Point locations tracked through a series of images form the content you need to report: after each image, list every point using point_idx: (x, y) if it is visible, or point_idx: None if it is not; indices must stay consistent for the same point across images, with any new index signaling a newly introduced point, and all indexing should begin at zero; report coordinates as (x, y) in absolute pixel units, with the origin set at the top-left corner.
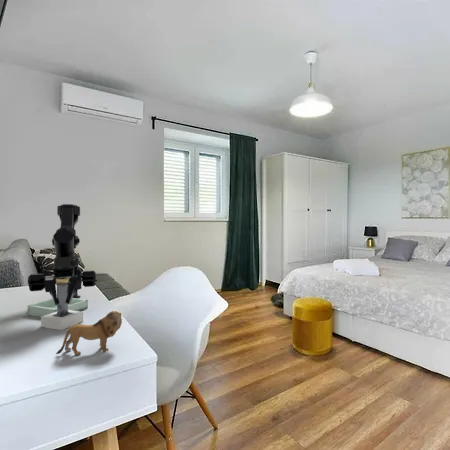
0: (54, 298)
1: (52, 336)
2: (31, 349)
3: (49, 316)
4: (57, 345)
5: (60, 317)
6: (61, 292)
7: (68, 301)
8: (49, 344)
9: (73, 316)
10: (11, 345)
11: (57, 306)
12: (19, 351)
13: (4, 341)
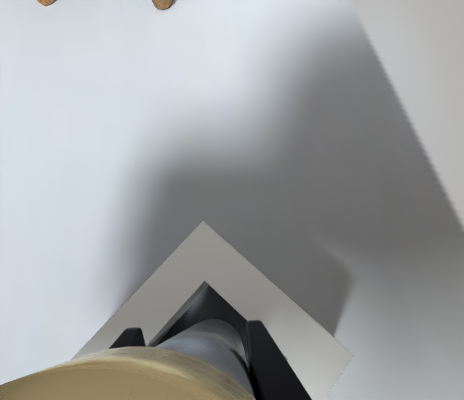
0: (278, 360)
1: (238, 161)
2: (291, 55)
3: (294, 337)
4: (203, 60)
5: (213, 278)
6: (185, 344)
7: (132, 328)
8: (235, 78)
9: (132, 298)
10: (383, 117)
11: (242, 352)
12: (328, 52)
13: (436, 173)
